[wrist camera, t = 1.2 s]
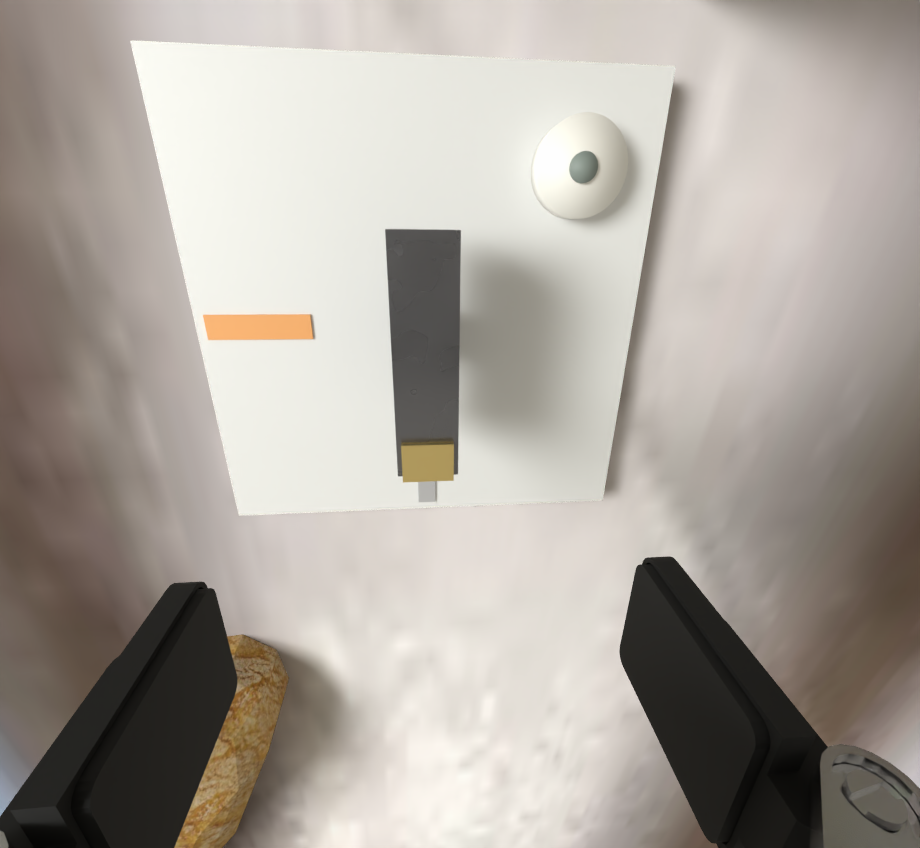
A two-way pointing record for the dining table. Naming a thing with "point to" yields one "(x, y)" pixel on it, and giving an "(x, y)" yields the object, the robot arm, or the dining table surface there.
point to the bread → (237, 746)
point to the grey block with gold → (425, 349)
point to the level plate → (365, 263)
